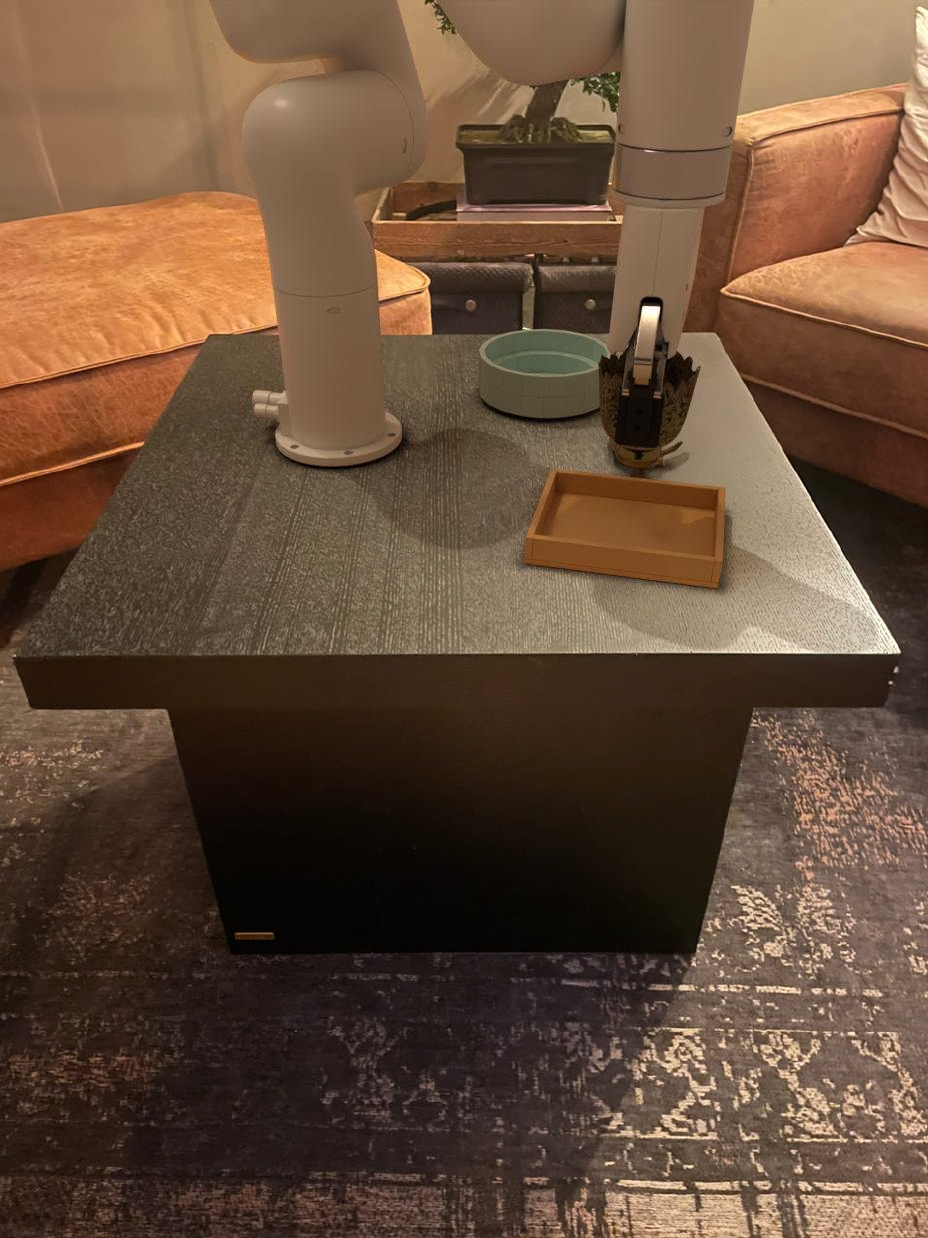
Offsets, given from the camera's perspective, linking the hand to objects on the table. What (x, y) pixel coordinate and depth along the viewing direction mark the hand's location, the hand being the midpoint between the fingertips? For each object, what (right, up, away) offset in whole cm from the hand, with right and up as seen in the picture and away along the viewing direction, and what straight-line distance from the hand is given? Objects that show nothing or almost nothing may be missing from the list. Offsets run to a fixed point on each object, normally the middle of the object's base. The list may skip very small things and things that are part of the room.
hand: (641, 421), depth 71 cm
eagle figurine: (+3, 0, +17) cm, 18 cm away
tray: (0, -8, +6) cm, 10 cm away
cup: (0, -3, +2) cm, 3 cm away
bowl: (-5, +9, +30) cm, 32 cm away
